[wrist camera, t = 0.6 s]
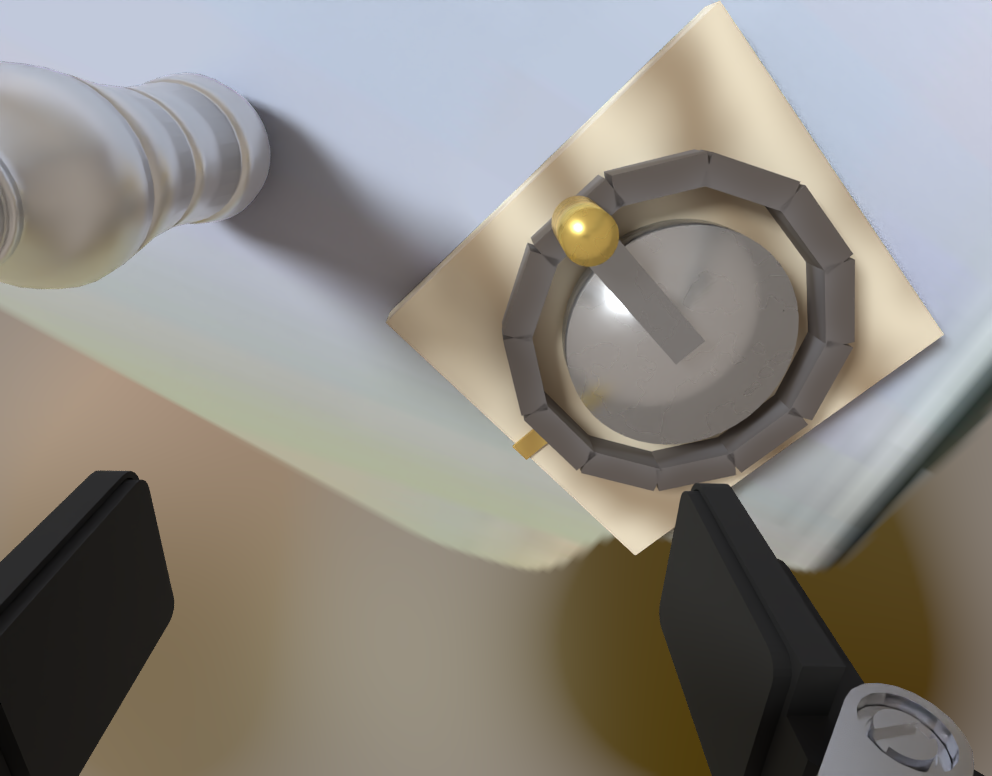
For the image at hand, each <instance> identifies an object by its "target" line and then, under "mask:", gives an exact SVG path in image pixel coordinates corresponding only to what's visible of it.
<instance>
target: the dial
mask: <svg viewBox="0 0 992 776" xmlns="http://www.w3.org/2000/svg"><path fill="white" fill-rule="evenodd" d="M552 230H553V233H554V235H555V236H556V238H557V240H558V242H559V243H560V245H561V247H562V248H563V250H564V252H565V253H566V255H567V256H568V258H569V259H570V260H571V261H573V262H574V263H576V264H578V265H581V266H586V267H587V268H586V269H585V271H584V272H583V273H582V274H581V276H580V278H579V280H578V281H577V283H576V285H575V286H574V288H573V291H572V293H571V295H570V297H569V300H568V303H567V306H566V310H565V313H564V319H563V326H562V346H563V353H564V358H565V361H566V365H567V368H568V371H569V374H570V377H571V380H572V383H573V385H574V387H575V389H576V392H577V394H578V396H579V397H580V399H581V400H582V402H583V404H584V405H585V406H586V407H587V409H588V410H589V411H590V412H591V413H592V414H593V416H595V417H596V418H597V419H598V420H599V421H600V422H601V423H603V424H604V425H605V426H607V427H609V428H610V429H612V430H613V431H615V432H617V433H619V434H621V435H623V436H625V437H628V438H631V439H634V440H637V441H641V442H647V443H652V444H665V445H667V444H683V443H689V442H695V441H698V440H702V439H706V438H709V437H711V436H714V435H717V434H719V433H722V432H723V431H725V430H727V429H729V428H731V427H733V426H735V425H736V424H738V423H739V422H741V421H742V420H744V419H745V418H747V417H748V416H749V415H751V414H752V413H753V412H754V411H755V410H757V409H758V408H759V407H760V406H761V405H762V404H763V403H764V402H765V401H766V400H767V399H768V397H769V396H770V395H771V394H772V392H773V391H774V390H775V388H776V387H777V386H778V384H779V383H780V381H781V379H782V378H783V376H784V374H785V373H786V370H787V368H788V366H789V364H790V362H791V359H792V356H793V353H794V350H795V346H796V341H797V335H798V323H799V315H798V306H797V300H796V296H795V293H794V289H793V287H792V284H791V282H790V280H789V277H788V275H787V274H786V272H785V271H784V269H783V268H782V266H781V264H780V263H779V262H778V261H777V260H776V259H775V258H774V256H773V255H772V254H771V253H770V252H769V251H767V250H766V249H765V248H764V247H762V246H761V245H760V244H759V243H757V242H755V241H754V240H752V239H750V238H748V237H747V236H745V235H743V234H741V233H739V232H737V231H735V230H733V229H731V228H728V227H726V226H723V225H721V224H718V223H714V222H710V221H706V220H699V219H689V218H688V219H671V220H665V221H659V222H655V223H652V224H649V225H645V226H642V227H640V228H638V229H636V230H633V231H631V232H629V233H627V234H625V235H624V236H622V237H621V238H619V230H618V226H617V224H616V222H615V220H614V219H613V218H612V217H611V216H610V215H609V214H608V213H607V212H606V211H604V210H603V209H602V208H601V207H600V206H599V205H597V204H596V203H595V202H594V201H593V200H591V199H590V198H587V197H585V196H571V197H568V198H566V199H565V200H563V201H562V202H561V203H560V204H559V205H558V206H557V207H556V209H555V210H554V213H553V216H552Z"/></svg>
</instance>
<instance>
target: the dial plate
mask: <svg viewBox="0 0 992 776" xmlns="http://www.w3.org/2000/svg"><path fill="white" fill-rule="evenodd" d="M571 196H585V197H587V198H590V199H591V200H593V201H594V202H595V203H596V204H597V205H599V206H600V207H601V208H602V209H603V210H604V211H606V212H607V213H608V214H609V215H610V216H611V217H612V218H613V219H614V220H615V222H616V224H617V226H618V230H619V238H621V237H622V236H624V235H625V234H627V233H629V232H631V231H633V230H636V229H638V228H640V227H642V226H645V225H649V224H652V223H655V222H659V221H665V220H671V219H688V218H689V219H699V220H706V221H710V222H714V223H718V224H721V225H723V226H726V227H728V228H731V229H733V230H735V231H737V232H739V233H741V234H743V235H745V236H747V237H748V238H750V239H752V240H754V241H755V242H757V243H759V244H760V245H761V246H762V247H764V248H765V249H766V250H767V251H769V252H770V253H771V254H772V255H773V256H774V258H775V259H776V260H777V261H778V262H779V263H780V264H781V266H782V268H783V269H784V271H785V272H786V274H787V275H788V277H789V280H790V282H791V284H792V287H793V289H794V293H795V296H796V300H797V306H798V315H799V323H798V335H797V341H796V346H795V350H794V353H793V356H792V359H791V362H790V364H789V366H788V368H787V370H786V373H785V374H784V376H783V378H782V379H781V381H780V383H779V384H778V386H777V387H776V388H775V390H774V391H773V392H772V394H771V395H770V396H769V397H768V399H767V400H766V401H765V402H764V403H763V404H762V405H761V406H760V407H759V408H758V409H757V410H755V411H754V412H753V413H752V414H751V415H749V416H748V417H747V418H745V419H744V420H742V421H741V422H739V423H738V424H736V425H735V426H733V427H731V428H729V429H727V430H725V431H723V432H722V433H719V434H717V435H714V436H711V437H709V438H706V439H702V440H698V441H695V442H689V443H683V444H667V445H665V444H652V443H647V442H641V441H637V440H634V439H631V438H628V437H625V436H623V435H621V434H619V433H617V432H615V431H613V430H612V429H610V428H609V427H607V426H605V425H604V424H603V423H601V422H600V421H599V420H598V419H597V418H596V417H595V416H593V414H592V413H591V412H590V411H589V410H588V409H587V407H586V406H585V405H584V404H583V402H582V400H581V399H580V397H579V396H578V394H577V392H576V389H575V387H574V385H573V383H572V380H571V377H570V374H569V371H568V368H567V365H566V361H565V358H564V353H563V346H562V326H563V319H564V313H565V310H566V306H567V303H568V300H569V297H570V295H571V293H572V291H573V288H574V286H575V285H576V283H577V281H578V280H579V278H580V276H581V274H582V273H583V272H584V271H585V269H586V268H587V267H586V266H581V265H578V264H576V263H574V262H573V261H571V260H570V259H569V258H568V256H567V255H566V253H565V252H564V250H563V248H562V247H561V245H560V243H559V242H558V240H557V238H556V236H555V235H554V233H553V230H552V216H553V213H554V210H555V209H556V207H557V206H558V205H559V204H560V203H561V202H562V201H563V200H565V199H566V198H568V197H571ZM386 323H387V324H388V325H389V326H390V327H391V328H392V329H393V330H394V331H395V332H396V333H397V334H399V335H400V336H401V337H402V338H403V339H404V340H405V341H406V342H407V343H408V344H409V345H410V346H411V347H412V348H414V349H415V350H416V351H417V352H418V353H419V354H420V355H421V356H422V357H423V358H424V359H425V360H426V361H427V362H429V363H430V364H431V365H432V366H433V367H434V368H435V369H436V370H437V371H438V372H439V373H440V374H441V375H442V376H444V377H445V378H446V379H447V380H448V381H449V382H450V383H451V384H452V385H453V386H454V387H455V388H456V389H457V390H459V391H460V392H461V393H462V394H463V395H464V396H465V397H466V398H467V399H468V400H469V401H470V402H471V403H472V404H474V405H475V406H476V407H477V408H478V409H479V410H480V411H481V412H482V413H483V414H484V415H485V416H486V417H487V418H489V419H490V420H491V421H492V422H493V423H494V424H495V425H496V426H497V427H498V428H499V429H500V430H501V431H502V432H504V433H505V434H506V435H507V436H508V437H509V438H510V439H511V440H512V441H513V442H514V443H515V444H514V445H513V448H514V449H515V450H517V451H518V452H519V453H520V454H521V455H522V456H523V457H524V458H525V459H526V460H527V459H528V458H529V457H530V458H531V459H532V460H534V461H535V462H536V463H537V464H538V465H539V466H540V467H541V468H542V469H543V470H544V471H545V472H546V473H547V474H549V475H550V476H551V477H552V478H553V479H554V480H555V481H556V482H557V483H558V484H559V485H560V486H561V487H562V488H564V489H565V490H566V491H567V492H568V493H569V494H570V495H571V496H572V497H573V498H574V499H575V500H576V501H577V502H578V503H580V504H581V505H582V506H583V507H584V508H585V509H586V510H587V511H588V512H589V513H590V514H591V515H592V516H593V517H595V518H596V519H597V520H598V521H599V522H600V523H601V524H602V525H603V526H604V527H605V528H606V529H607V530H608V531H610V532H611V533H612V534H613V535H614V536H615V537H616V538H617V539H618V540H619V541H620V542H621V543H622V544H623V545H625V546H626V547H627V548H628V549H629V550H630V551H631V552H632V553H633V554H634V555H636V554H638V553H639V552H641V551H642V550H643V549H645V548H646V547H648V546H649V545H650V544H652V543H653V542H655V541H656V540H657V539H659V538H660V537H662V536H663V535H664V534H666V533H667V532H669V531H670V530H671V529H673V528H674V527H675V524H676V518H677V513H678V508H679V503H680V498H681V495H682V493H683V492H684V491H691V488H692V486H693V485H694V484H695V483H719V484H728V485H729V486H730V487H732V486H733V485H734V484H736V483H737V482H739V481H740V480H741V479H743V478H744V477H746V476H747V475H748V474H750V473H751V472H753V471H754V470H755V469H757V468H758V467H760V466H761V465H762V464H764V463H765V462H767V461H768V460H769V459H771V458H772V457H774V456H775V455H776V454H778V453H779V452H781V451H782V450H783V449H785V448H786V447H788V446H789V445H790V444H792V443H793V442H795V441H796V440H797V439H799V438H800V437H802V436H803V435H804V434H806V433H807V432H809V431H810V430H811V429H813V428H814V427H816V426H817V425H818V424H820V423H821V422H823V421H824V420H825V419H827V418H828V417H830V416H831V415H832V414H834V413H835V412H837V411H838V410H839V409H841V408H842V407H844V406H845V405H846V404H848V403H849V402H850V401H852V400H853V399H855V398H856V397H857V396H859V395H860V394H862V393H863V392H864V391H866V390H867V389H869V388H870V387H871V386H873V385H874V384H876V383H877V382H878V381H880V380H881V379H883V378H884V377H885V376H887V375H888V374H890V373H891V372H892V371H894V370H895V369H897V368H898V367H899V366H901V365H902V364H904V363H905V362H906V361H908V360H909V359H911V358H912V357H913V356H915V355H916V354H918V353H919V352H920V351H922V350H923V349H925V348H926V347H927V346H929V345H930V344H932V343H933V342H934V341H936V340H937V339H939V338H940V337H941V336H943V335H944V334H943V333H942V331H941V330H940V328H939V327H938V325H937V324H936V322H935V321H934V319H933V318H932V316H931V315H930V313H929V312H928V310H927V309H926V307H925V306H924V304H923V303H922V301H921V300H920V298H919V297H918V295H917V294H916V292H915V291H914V289H913V288H912V286H911V285H910V283H909V282H908V280H907V279H906V277H905V276H904V274H903V273H902V271H901V270H900V268H899V267H898V265H897V264H896V262H895V261H894V259H893V258H892V256H891V255H890V253H889V252H888V251H887V249H886V248H885V246H884V245H883V243H882V242H881V240H880V239H879V237H878V236H877V234H876V233H875V231H874V230H873V228H872V227H871V225H870V224H869V222H868V221H867V219H866V218H865V216H864V215H863V213H862V212H861V210H860V209H859V207H858V206H857V204H856V203H855V201H854V200H853V198H852V197H851V195H850V194H849V192H848V191H847V189H846V188H845V186H844V185H843V183H842V182H841V180H840V179H839V177H838V176H837V174H836V173H835V171H834V170H833V169H832V167H831V166H830V164H829V163H828V161H827V160H826V158H825V157H824V155H823V154H822V152H821V151H820V149H819V148H818V146H817V145H816V143H815V142H814V140H813V139H812V137H811V136H810V134H809V133H808V131H807V130H806V128H805V127H804V125H803V124H802V122H801V121H800V119H799V118H798V116H797V115H796V113H795V112H794V110H793V109H792V107H791V106H790V104H789V103H788V101H787V100H786V98H785V97H784V95H783V94H782V92H781V91H780V89H779V88H778V86H777V85H776V84H775V82H774V81H773V79H772V78H771V76H770V75H769V73H768V72H767V70H766V69H765V67H764V66H763V64H762V63H761V61H760V60H759V58H758V57H757V55H756V54H755V52H754V51H753V49H752V48H751V46H750V45H749V43H748V42H747V40H746V39H745V37H744V36H743V34H742V33H741V31H740V30H739V28H738V27H737V25H736V24H735V22H734V21H733V19H732V18H731V16H730V15H729V13H728V12H727V10H726V9H725V7H724V6H723V4H722V3H721V2H720V1H718V2H715V3H713V4H711V5H708V6H706V7H704V8H703V9H702V10H701V11H700V12H699V13H698V14H697V15H696V16H695V17H694V18H693V19H692V20H691V21H690V22H689V23H688V24H687V25H686V26H685V27H684V28H683V29H682V30H681V31H680V32H679V33H678V34H677V35H676V36H674V37H673V38H672V39H671V40H670V41H669V42H668V43H667V44H666V45H665V46H664V47H663V48H662V49H661V50H660V51H659V52H658V53H657V54H656V55H655V56H654V57H653V58H652V59H651V60H650V61H649V62H648V63H647V64H646V65H645V66H643V67H642V68H641V69H640V70H639V71H638V72H637V73H636V74H635V75H634V76H633V77H632V78H631V79H630V80H629V81H628V82H627V83H626V84H625V85H624V86H623V87H622V88H621V89H620V90H619V91H618V92H617V93H616V94H615V95H613V96H612V97H611V98H610V99H609V100H608V101H607V102H606V103H605V104H604V105H603V106H602V107H601V108H600V109H599V110H598V111H597V112H596V113H595V114H594V115H593V116H592V117H591V118H590V119H589V120H588V121H587V122H586V123H585V124H584V125H582V126H581V127H580V128H579V129H578V130H577V131H576V132H575V133H574V134H573V135H572V136H571V137H570V138H569V139H568V140H567V141H566V142H565V143H564V144H563V145H562V146H561V147H560V148H559V149H558V150H557V151H556V152H555V153H554V154H553V155H551V156H550V157H549V158H548V159H547V160H546V161H545V162H544V163H543V164H542V165H541V166H540V167H539V168H538V169H537V170H536V171H535V172H534V173H533V174H532V175H531V176H530V177H529V178H528V179H527V180H526V181H525V182H524V183H523V184H522V185H520V186H519V187H518V188H517V189H516V190H515V191H514V192H513V193H512V194H511V195H510V196H509V197H508V198H507V199H506V200H505V201H504V202H503V203H502V204H501V205H500V206H499V207H498V208H497V209H496V210H495V211H494V212H493V213H492V214H490V215H489V216H488V217H487V218H486V219H485V220H484V221H483V222H482V223H481V224H480V225H479V226H478V227H477V228H476V229H475V230H474V231H473V232H472V233H471V234H470V235H469V236H468V237H467V238H466V239H465V240H464V241H463V242H462V243H461V244H459V245H458V246H457V247H456V248H455V249H454V250H453V251H452V252H451V253H450V254H449V255H448V256H447V257H446V258H445V259H444V260H443V261H442V262H441V263H440V264H439V265H438V266H437V267H436V268H435V269H434V270H433V271H432V272H431V273H430V274H428V275H427V276H426V277H425V278H424V279H423V280H422V281H421V282H420V283H419V284H418V285H417V286H416V287H415V288H414V289H413V290H412V291H411V292H410V293H409V294H408V295H407V296H406V297H405V298H404V299H403V300H402V301H401V302H400V303H398V304H397V305H396V306H395V307H394V308H393V309H392V310H391V311H390V313H389V316H388V318H387V321H386Z"/></svg>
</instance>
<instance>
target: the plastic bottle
mask: <svg viewBox="0 0 992 776" xmlns="http://www.w3.org/2000/svg"><path fill="white" fill-rule="evenodd" d="M269 167H270V144H269V139H268V135H267V132H266V129H265V127H264V124H263V122H262V120H261V119H260V117H259V115H258V114H257V112H256V110H255V109H254V108H253V107H252V106H251V104H250V103H249V102H248V101H247V100H246V99H245V98H244V97H243V96H241V95H240V94H239V93H238V92H236V91H235V90H233V89H231V88H230V87H228V86H226V85H224V84H223V83H221V82H219V81H217V80H215V79H213V78H210V77H207V76H204V75H201V74H194V73H177V74H170V75H166V76H162V77H159V78H156V79H153V80H150V81H147V82H145V83H144V84H142V85H136V86H130V87H120V86H112V85H104V84H98V83H94V82H91V81H88V80H84V79H81V78H78V77H75V76H71V75H68V74H65V73H62V72H59V71H55V70H52V69H49V68H46V67H40V66H34V65H29V64H23V63H14V62H5V61H0V282H2V283H6V284H9V285H13V286H17V287H22V288H33V289H65V288H74V287H80V286H83V285H86V284H89V283H93V282H96V281H98V280H99V279H101V278H103V277H104V276H106V275H108V274H109V273H111V272H113V271H114V270H115V269H117V268H119V267H120V266H122V265H124V264H125V263H126V262H127V261H128V260H129V259H130V258H131V257H133V256H134V255H135V254H136V253H137V252H138V251H139V250H141V249H142V248H143V247H144V246H145V245H146V244H148V243H149V242H150V241H151V240H152V239H153V238H155V237H156V236H158V235H160V234H162V233H163V232H165V231H167V230H169V229H170V228H172V227H175V226H179V225H184V224H188V223H189V224H200V223H210V222H217V221H222V220H225V219H228V218H231V217H233V216H235V215H236V214H238V213H240V212H242V211H243V210H244V209H245V208H246V207H247V206H248V205H249V204H250V203H252V201H253V200H254V199H255V197H256V196H257V194H258V193H259V191H260V190H261V188H262V187H263V186H264V183H265V181H266V178H267V176H268V172H269Z"/></svg>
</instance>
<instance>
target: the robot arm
mask: <svg viewBox="0 0 992 776" xmlns="http://www.w3.org/2000/svg"><path fill="white" fill-rule="evenodd" d="M173 610H174V597H173V593H172V588H171V584H170V579H169V575H168V570H167V566H166V561H165V557H164V553H163V548H162V544H161V539H160V535H159V530H158V526H157V522H156V517H155V512H154V508H153V503H152V499H151V494H150V490H149V487H148V484H147V483H146V481H144V480H139V478H138V476H137V475H136V474H135V473H134V472H132V471H95V472H94V473H92V474H91V475H90V476H89V477H88V478H87V479H85V481H83V482H82V483H81V484H80V485H79V486H78V487H77V488H76V489H75V490H74V491H73V492H72V493H71V494H70V495H69V496H68V497H67V498H66V499H65V500H64V501H63V502H62V503H61V504H60V505H59V506H58V507H57V508H56V509H55V510H54V511H53V512H51V514H49V515H48V516H47V517H46V518H45V519H44V520H43V521H42V522H41V523H40V524H39V525H38V526H37V527H36V528H35V529H34V530H33V531H32V532H31V533H30V534H29V535H28V536H27V537H26V538H25V539H24V540H23V541H22V542H21V543H20V544H19V545H18V546H16V547H15V549H13V550H12V551H11V552H10V553H9V554H8V555H7V556H6V557H5V558H4V559H3V560H2V561H1V562H0V776H79V774H80V773H81V771H82V769H83V768H84V766H85V764H86V762H87V761H88V759H89V757H90V756H91V754H92V752H93V751H94V749H95V747H96V745H97V744H98V742H99V740H100V739H101V737H102V735H103V734H104V732H105V730H106V729H107V727H108V725H109V724H110V722H111V720H112V718H113V717H114V715H115V713H116V712H117V710H118V708H119V706H120V705H121V703H122V701H123V700H124V698H125V696H126V695H127V693H128V691H129V690H130V688H131V686H132V684H133V683H134V681H135V680H136V678H137V676H138V674H139V673H140V671H141V669H142V668H143V666H144V664H145V663H146V661H147V659H148V657H149V656H150V654H151V652H152V651H153V649H154V647H155V646H156V644H157V642H158V640H159V639H160V637H161V636H162V634H163V632H164V630H165V629H166V627H167V625H168V623H169V622H170V620H171V617H172V614H173ZM659 615H660V623H661V627H662V630H663V633H664V636H665V639H666V642H667V645H668V648H669V651H670V654H671V657H672V660H673V663H674V666H675V669H676V672H677V674H678V678H679V680H680V683H681V686H682V689H683V692H684V695H685V698H686V701H687V704H688V707H689V710H690V713H691V716H692V719H693V721H694V724H695V727H696V730H697V733H698V736H699V739H700V742H701V745H702V748H703V751H704V754H705V757H706V760H707V763H708V766H709V768H710V771H711V774H712V776H984V775H983V774H981V773H979V772H977V771H975V770H974V762H973V753H972V749H971V747H970V745H969V743H968V741H967V739H966V737H965V736H964V734H963V733H962V731H960V729H959V728H958V727H957V726H956V725H955V723H954V722H953V721H952V720H951V719H950V718H949V717H948V716H947V715H946V714H944V713H943V712H942V711H941V710H939V709H938V708H937V707H936V706H935V705H933V704H931V703H930V702H928V701H926V700H925V699H923V698H921V697H920V696H918V695H916V694H914V693H912V692H909V691H907V690H904V689H902V688H899V687H897V686H892V685H886V684H881V683H871V684H864V682H863V681H862V679H861V678H860V676H859V675H858V673H857V672H856V670H855V668H854V667H853V665H852V664H851V662H850V661H849V659H848V658H847V656H846V655H845V653H844V652H843V650H842V649H841V647H840V646H839V644H838V643H837V641H836V639H835V638H834V636H833V635H832V633H831V632H830V630H829V629H828V627H827V626H826V624H825V623H824V621H823V619H822V618H821V617H820V615H819V613H818V612H817V610H816V609H815V607H814V606H813V604H812V603H811V601H810V600H809V598H808V597H807V595H806V593H805V592H804V590H803V589H802V587H801V586H800V584H799V583H798V581H797V580H796V578H795V577H794V575H793V574H792V572H791V571H790V569H789V568H788V566H787V565H786V564H785V563H784V562H783V561H781V560H779V559H777V558H776V557H775V555H774V553H773V552H772V550H771V549H770V547H769V546H768V544H767V543H766V541H765V539H764V538H763V536H762V535H761V533H760V532H759V530H758V528H757V527H756V525H755V524H754V522H753V521H752V519H751V518H750V516H749V514H748V513H747V511H746V510H745V508H744V507H743V505H742V504H741V502H740V500H739V499H738V497H737V496H736V494H735V493H734V491H733V489H732V488H731V487H730V486H729V485H728V484H719V483H695V484H694V485H693V486H692V488H691V491H684V492H683V493H682V495H681V498H680V503H679V508H678V513H677V518H676V524H675V529H674V534H673V539H672V545H671V550H670V555H669V560H668V565H667V571H666V576H665V581H664V586H663V591H662V597H661V602H660V613H659Z"/></svg>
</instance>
